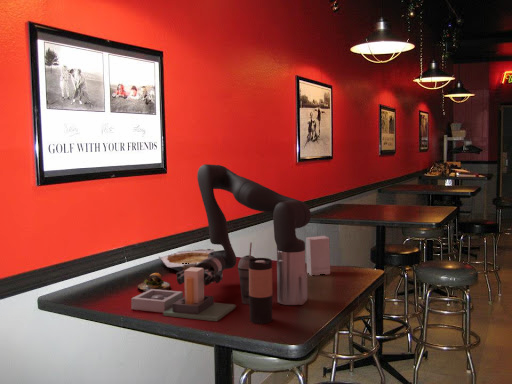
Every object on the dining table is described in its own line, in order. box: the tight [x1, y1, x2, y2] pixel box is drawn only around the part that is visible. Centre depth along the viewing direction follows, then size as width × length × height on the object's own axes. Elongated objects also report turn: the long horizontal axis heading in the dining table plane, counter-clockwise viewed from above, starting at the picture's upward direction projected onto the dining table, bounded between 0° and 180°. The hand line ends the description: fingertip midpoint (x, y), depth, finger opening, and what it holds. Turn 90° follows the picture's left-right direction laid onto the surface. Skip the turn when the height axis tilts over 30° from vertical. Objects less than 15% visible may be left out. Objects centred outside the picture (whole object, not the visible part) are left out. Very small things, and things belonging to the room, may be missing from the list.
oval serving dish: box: [158, 248, 215, 272], centre depth 234 cm, size 32×4×23 cm
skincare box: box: [305, 235, 331, 277], centre depth 213 cm, size 8×6×15 cm
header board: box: [162, 295, 236, 322], centre depth 167 cm, size 18×14×4 cm
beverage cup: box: [237, 242, 256, 305], centre depth 175 cm, size 7×7×20 cm
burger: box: [136, 268, 172, 292], centre depth 194 cm, size 12×12×8 cm
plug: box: [183, 267, 205, 305], centre depth 167 cm, size 4×6×12 cm
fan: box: [130, 289, 184, 314], centre depth 176 cm, size 16×18×4 cm
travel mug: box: [248, 257, 273, 325], centre depth 157 cm, size 7×7×18 cm
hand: (192, 281), depth 166 cm, fingers open, 8 cm apart
